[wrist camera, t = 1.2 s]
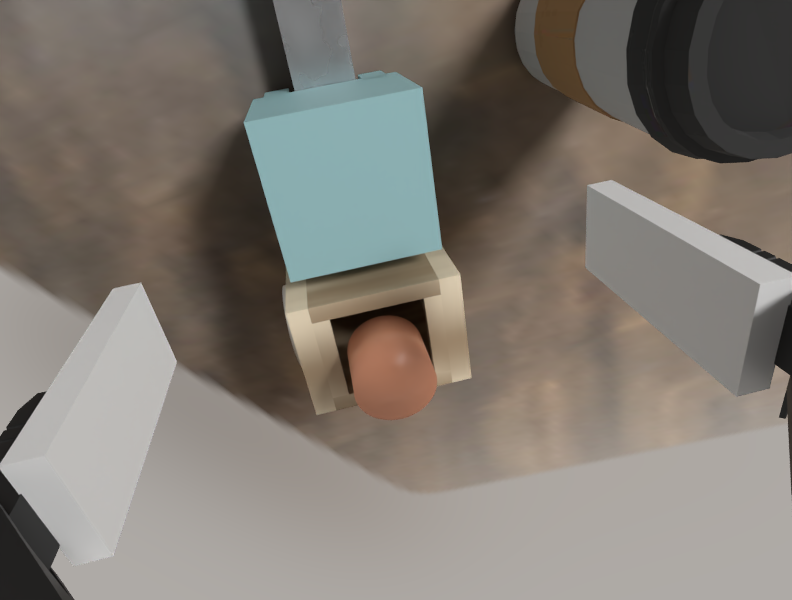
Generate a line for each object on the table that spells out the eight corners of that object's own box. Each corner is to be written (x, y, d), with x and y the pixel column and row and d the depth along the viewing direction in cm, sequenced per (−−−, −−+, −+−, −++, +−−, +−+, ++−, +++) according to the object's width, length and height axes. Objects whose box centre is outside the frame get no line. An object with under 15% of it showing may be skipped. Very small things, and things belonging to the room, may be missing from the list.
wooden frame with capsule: (279, 239, 31) (276, 315, 23) (418, 209, 32) (460, 274, 24) (304, 323, 34) (308, 416, 26) (430, 295, 35) (471, 377, 27)
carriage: (255, 94, 27) (243, 122, 20) (389, 68, 27) (422, 87, 21) (290, 222, 30) (290, 282, 24) (409, 197, 31) (442, 249, 24)
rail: (178, -399, 19) (153, -491, 15) (261, -409, 19) (255, -501, 16) (333, 251, 32) (338, 280, 28) (382, 241, 32) (393, 268, 29)
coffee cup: (539, 135, 31) (721, 226, 18) (462, 4, 27) (624, -1, 14) (663, 37, 29) (960, 59, 16) (602, -116, 25) (928, -248, 12)
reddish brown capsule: (339, 325, 24) (345, 363, 21) (416, 307, 24) (431, 343, 22) (355, 386, 26) (362, 428, 23) (426, 369, 26) (441, 408, 23)
